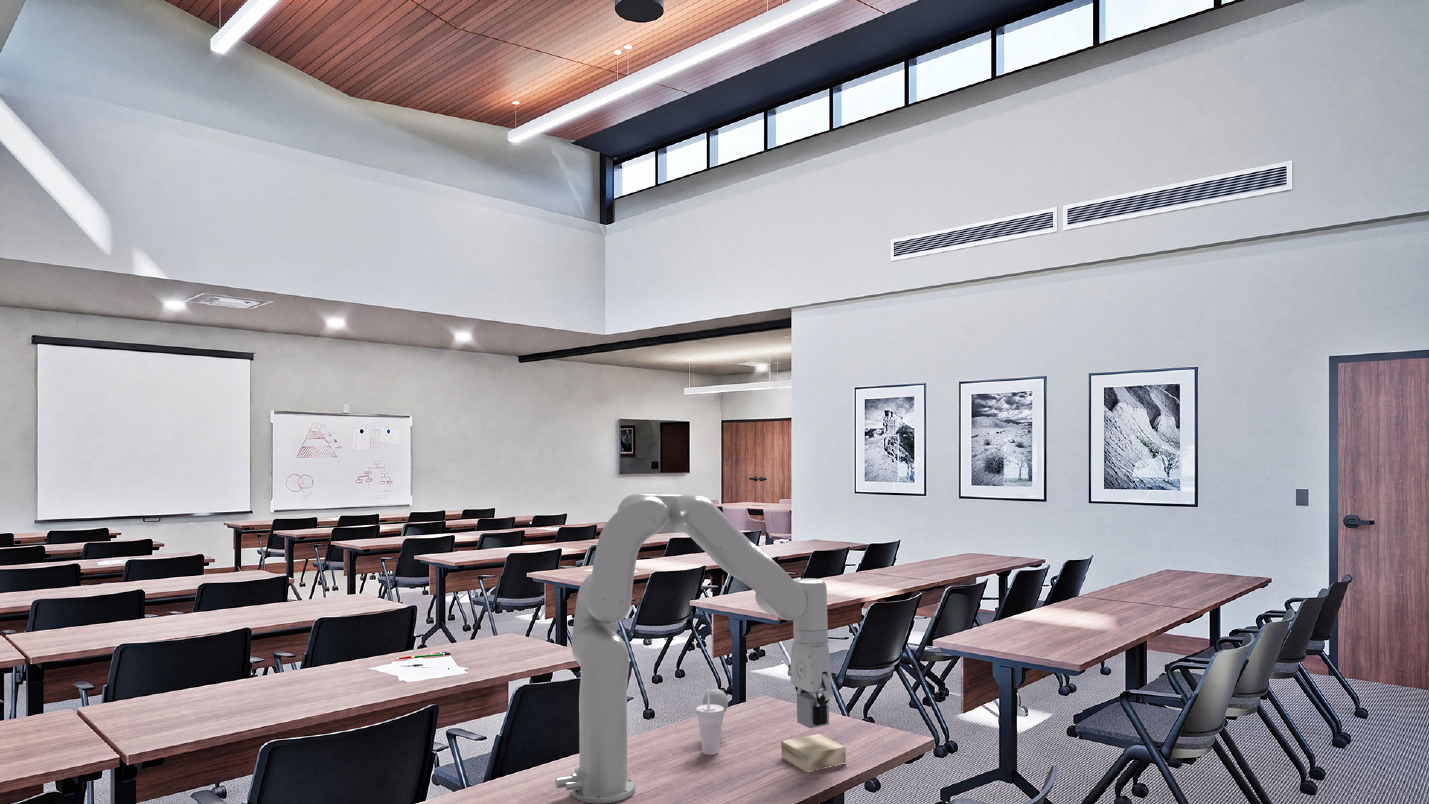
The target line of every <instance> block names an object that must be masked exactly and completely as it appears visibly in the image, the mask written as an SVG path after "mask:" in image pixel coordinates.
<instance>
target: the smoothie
mask: <svg viewBox="0 0 1429 804" xmlns="http://www.w3.org/2000/svg"><path fill="white" fill-rule="evenodd" d="M710 690H711V688H707V690H706V691H707V692H706V693H707V696H708V704H707V705H703V704H701V705H698V706H697V707H696V708H695V713H696V715H697V720H698V727H699V737H700V743H701V752H702V754H704V755H707V756H712V755H717V754H719V751H720V744H721V735H722V726H723V721H722V715H723V714H724V715H725V713H724V708H723V707H722V706H720V705H715V704H710Z"/></svg>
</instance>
